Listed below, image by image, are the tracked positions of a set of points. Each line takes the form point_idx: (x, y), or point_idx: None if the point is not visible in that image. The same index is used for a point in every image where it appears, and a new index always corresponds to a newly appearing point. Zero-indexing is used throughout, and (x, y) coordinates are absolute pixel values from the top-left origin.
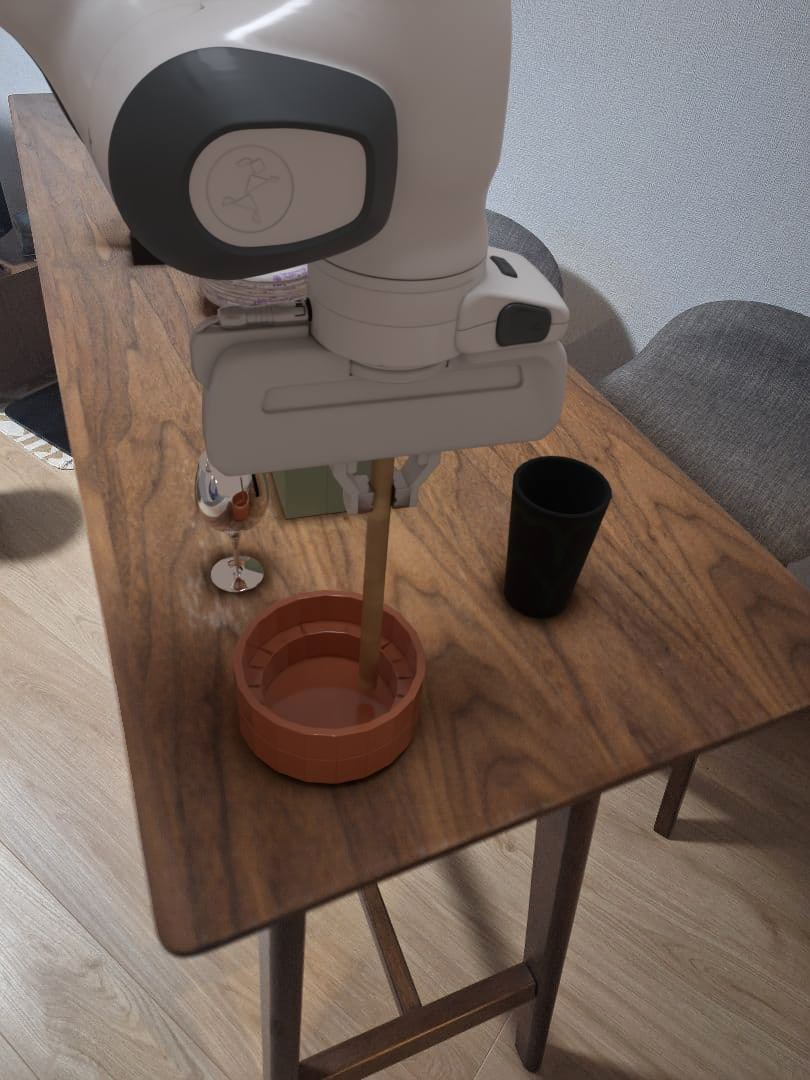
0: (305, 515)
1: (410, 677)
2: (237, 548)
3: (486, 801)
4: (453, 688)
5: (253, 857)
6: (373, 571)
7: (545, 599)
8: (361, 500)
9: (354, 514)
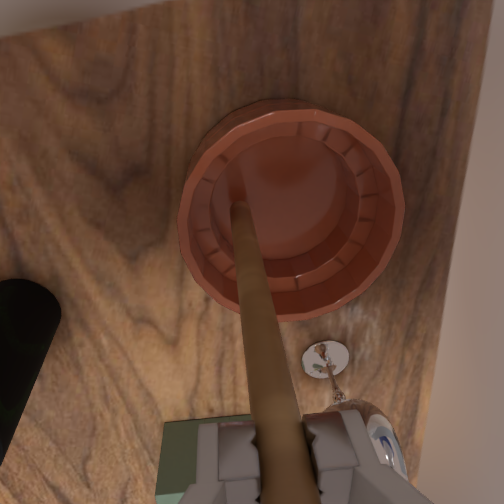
0: (249, 415)
1: (193, 205)
2: (333, 383)
3: (129, 43)
4: (140, 203)
5: (395, 29)
6: (266, 307)
7: (8, 295)
8: (345, 447)
9: (345, 410)
